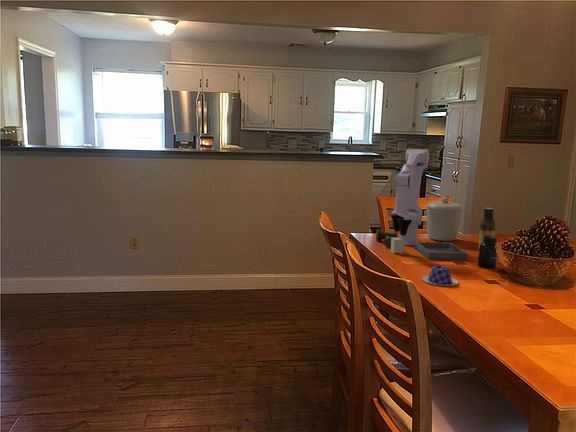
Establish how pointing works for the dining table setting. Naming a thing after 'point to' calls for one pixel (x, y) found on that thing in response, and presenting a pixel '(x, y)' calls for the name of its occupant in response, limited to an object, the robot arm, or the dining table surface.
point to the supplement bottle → (488, 253)
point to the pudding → (440, 276)
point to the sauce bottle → (487, 225)
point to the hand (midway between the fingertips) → (399, 233)
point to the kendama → (385, 237)
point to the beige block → (397, 245)
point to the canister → (443, 219)
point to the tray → (440, 251)
